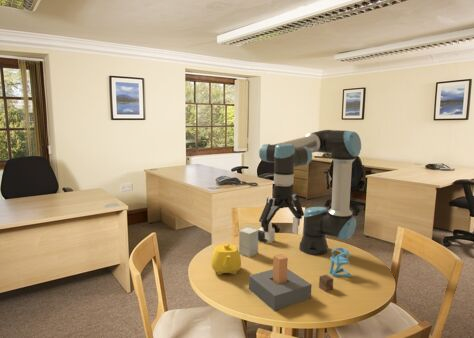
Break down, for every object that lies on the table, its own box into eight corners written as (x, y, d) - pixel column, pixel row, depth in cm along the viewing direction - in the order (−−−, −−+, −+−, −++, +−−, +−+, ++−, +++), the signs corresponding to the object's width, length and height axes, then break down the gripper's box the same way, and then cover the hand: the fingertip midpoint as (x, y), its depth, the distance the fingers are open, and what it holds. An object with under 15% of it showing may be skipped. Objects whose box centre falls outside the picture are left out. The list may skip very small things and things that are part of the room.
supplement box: (258, 253, 180) (259, 230, 178) (249, 257, 174) (249, 233, 172) (247, 249, 185) (248, 226, 182) (238, 253, 179) (238, 230, 177)
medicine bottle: (257, 241, 196) (257, 220, 194) (264, 237, 202) (265, 218, 200) (267, 244, 192) (268, 223, 190) (274, 240, 197) (275, 220, 195)
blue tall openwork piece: (326, 270, 161) (328, 246, 159) (342, 269, 163) (344, 245, 161) (334, 278, 154) (336, 253, 152) (351, 276, 156) (353, 251, 154)
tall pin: (280, 290, 143) (281, 253, 140) (286, 294, 140) (287, 257, 137) (272, 292, 141) (273, 255, 138) (278, 297, 138) (279, 259, 135)
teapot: (238, 262, 169) (239, 237, 167) (243, 282, 149) (244, 254, 147) (210, 262, 168) (210, 238, 166) (212, 283, 148) (212, 255, 146)
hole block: (283, 279, 153) (283, 266, 152) (310, 298, 137) (311, 284, 136) (248, 288, 144) (249, 275, 143) (274, 310, 128) (274, 295, 127)
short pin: (325, 285, 148) (326, 274, 147) (332, 289, 144) (333, 278, 144) (318, 287, 146) (319, 276, 145) (325, 291, 142) (326, 280, 142)
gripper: (302, 179, 142) (299, 228, 146) (250, 185, 130) (250, 238, 134) (314, 182, 136) (311, 233, 139) (262, 189, 123) (260, 245, 127)
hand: (281, 236), depth 136 cm, fingers open, 13 cm apart
